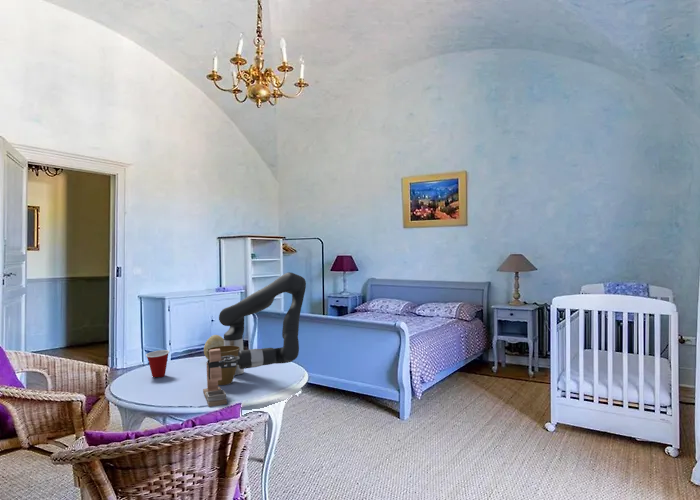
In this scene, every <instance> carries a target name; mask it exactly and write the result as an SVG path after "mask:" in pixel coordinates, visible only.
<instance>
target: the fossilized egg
mask: <svg viewBox="0 0 700 500" xmlns="http://www.w3.org/2000/svg"><path fill="white" fill-rule="evenodd" d="M217 346H224V337H222V336H221V335H219V334H212V335H211V336H210V337H209V338H207V340H206V342H205V344H204V347H203V354H204V356H205V358H206V359H207V360H208V356H207V349H208V348H212V347H217Z"/></svg>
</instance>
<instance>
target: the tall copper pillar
mask: <svg viewBox="0 0 700 500" xmlns="http://www.w3.org/2000/svg"><path fill="white" fill-rule="evenodd" d="M209 356H210V362H216V361H218V362H219V361H221V350H220V349H212V350H209ZM210 379H211V381H218V380H222V372H221V368H220V367H215V368H210Z"/></svg>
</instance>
